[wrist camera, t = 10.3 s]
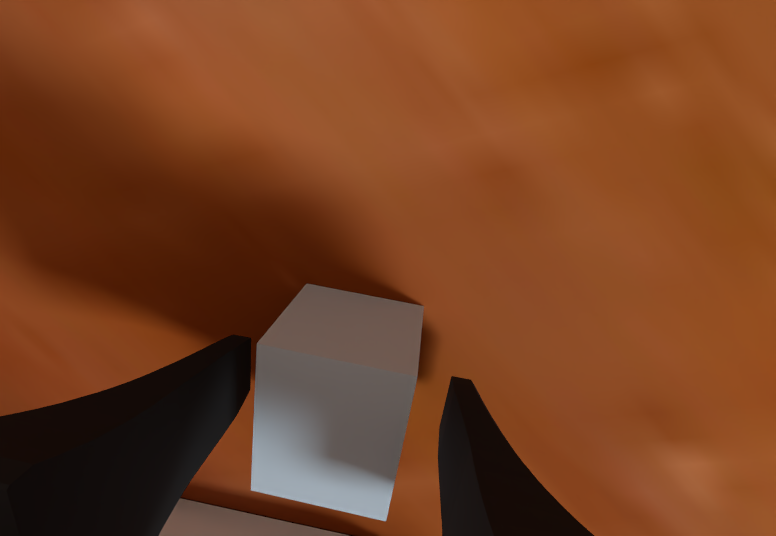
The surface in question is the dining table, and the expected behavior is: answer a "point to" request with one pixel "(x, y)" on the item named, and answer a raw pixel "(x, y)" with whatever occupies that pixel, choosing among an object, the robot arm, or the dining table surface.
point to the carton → (335, 399)
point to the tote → (229, 523)
